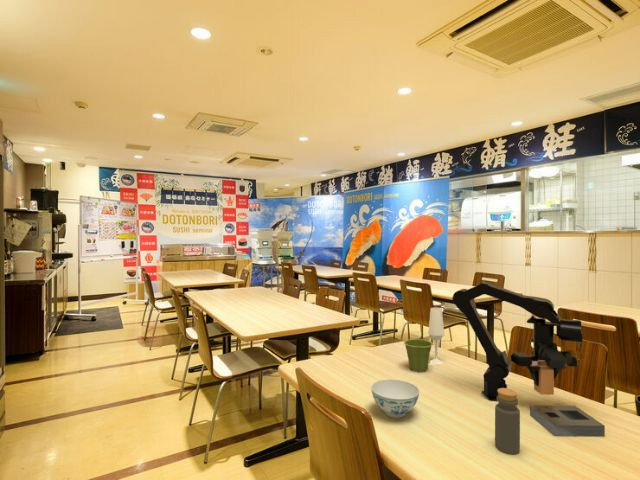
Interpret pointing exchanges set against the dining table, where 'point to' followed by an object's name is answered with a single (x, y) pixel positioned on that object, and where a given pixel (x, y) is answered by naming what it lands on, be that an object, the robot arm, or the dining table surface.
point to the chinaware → (395, 396)
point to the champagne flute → (436, 330)
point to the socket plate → (566, 421)
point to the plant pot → (418, 353)
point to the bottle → (507, 422)
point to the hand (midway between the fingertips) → (543, 385)
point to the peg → (545, 381)
